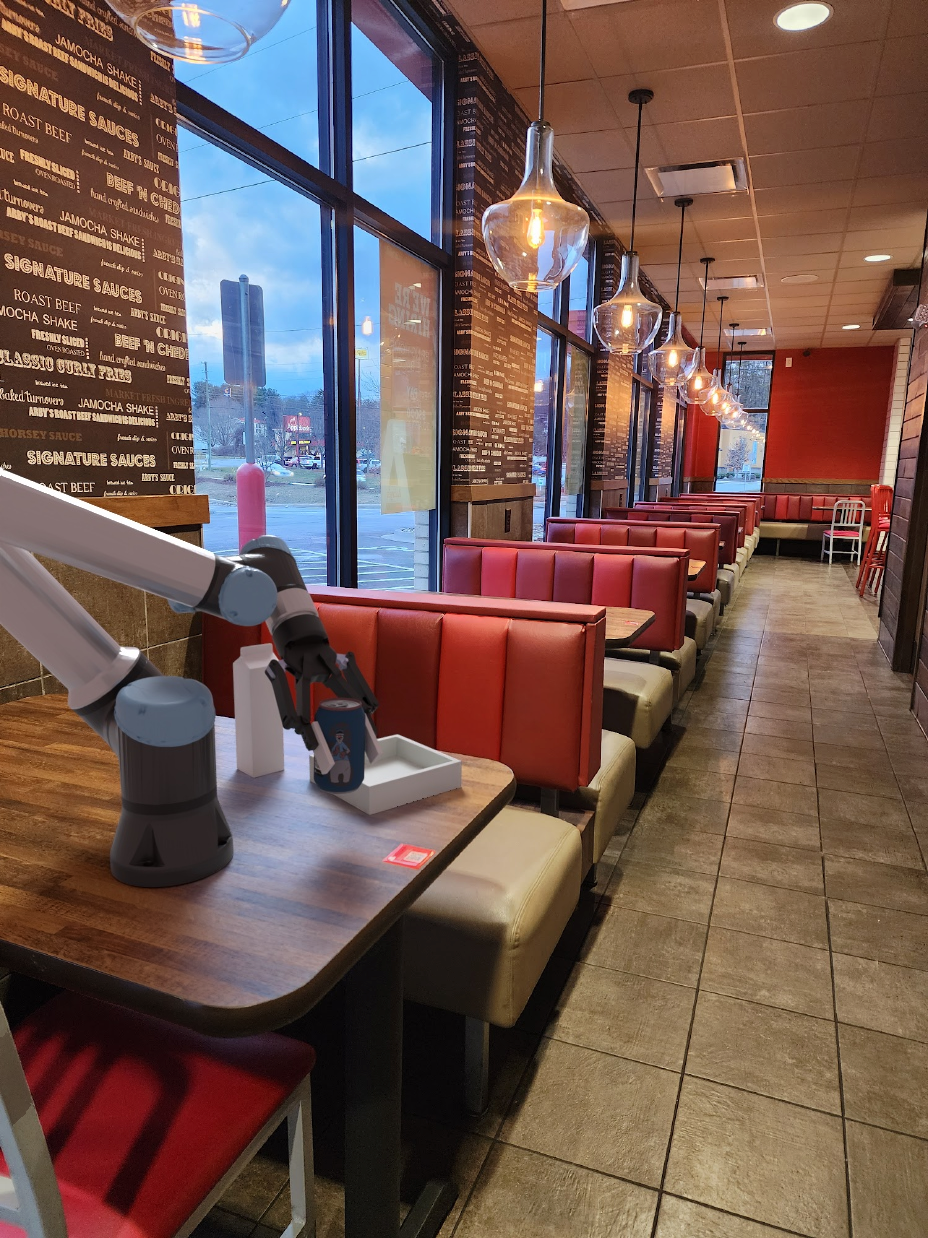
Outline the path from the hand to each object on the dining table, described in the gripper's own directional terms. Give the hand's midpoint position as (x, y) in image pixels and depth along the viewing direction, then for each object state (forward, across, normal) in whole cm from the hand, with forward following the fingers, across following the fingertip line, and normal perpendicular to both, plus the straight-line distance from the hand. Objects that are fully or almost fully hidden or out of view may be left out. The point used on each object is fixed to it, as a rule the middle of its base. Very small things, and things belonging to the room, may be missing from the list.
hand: (353, 763), depth 107 cm
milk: (-16, -4, -34) cm, 38 cm away
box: (-4, -17, -20) cm, 26 cm away
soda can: (+1, 0, -6) cm, 6 cm away
